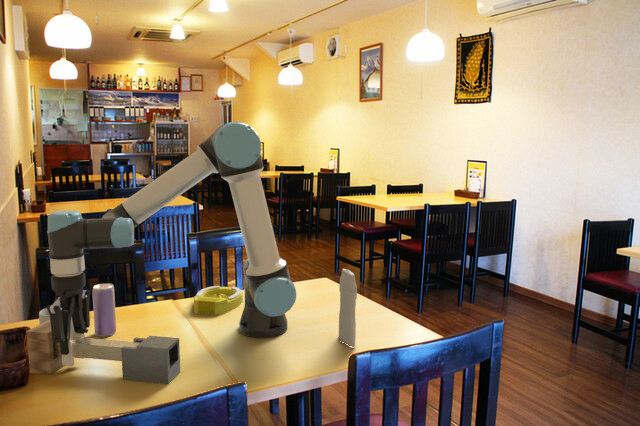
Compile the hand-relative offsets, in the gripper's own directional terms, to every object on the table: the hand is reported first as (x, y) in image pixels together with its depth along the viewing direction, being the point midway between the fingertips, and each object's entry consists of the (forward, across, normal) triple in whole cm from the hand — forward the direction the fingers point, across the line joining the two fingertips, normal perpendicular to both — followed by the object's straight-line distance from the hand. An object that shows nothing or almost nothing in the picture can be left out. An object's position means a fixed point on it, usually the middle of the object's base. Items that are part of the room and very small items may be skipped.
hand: (73, 361), depth 122 cm
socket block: (+2, 0, -6) cm, 7 cm away
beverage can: (+2, -22, -6) cm, 23 cm away
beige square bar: (-2, 0, +8) cm, 8 cm away
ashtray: (+3, -54, +18) cm, 57 cm away
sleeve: (+2, 0, +22) cm, 22 cm away
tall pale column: (+2, -30, +68) cm, 74 cm away
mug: (+2, -12, -12) cm, 17 cm away
